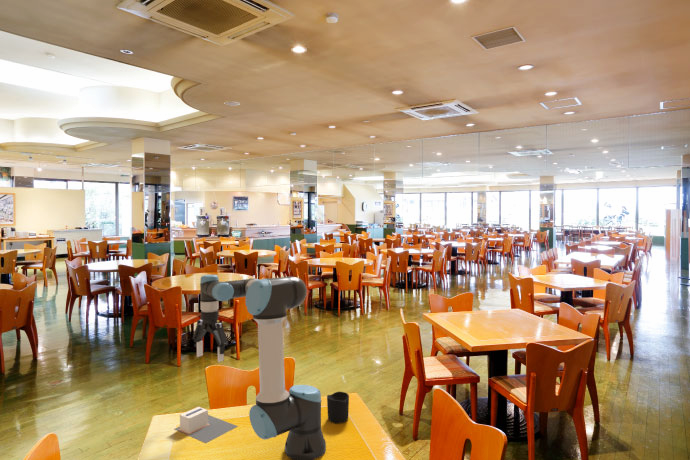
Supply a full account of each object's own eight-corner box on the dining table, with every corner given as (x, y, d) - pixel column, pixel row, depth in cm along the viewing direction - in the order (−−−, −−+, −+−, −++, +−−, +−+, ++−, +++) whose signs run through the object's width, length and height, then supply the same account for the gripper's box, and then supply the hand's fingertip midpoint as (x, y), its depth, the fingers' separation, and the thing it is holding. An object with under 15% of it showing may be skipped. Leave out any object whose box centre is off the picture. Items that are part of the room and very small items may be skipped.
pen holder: (349, 424, 176) (348, 400, 175) (326, 424, 176) (326, 400, 176) (349, 414, 185) (348, 391, 185) (327, 414, 185) (327, 391, 185)
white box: (189, 433, 167) (189, 418, 167) (180, 429, 170) (179, 414, 170) (208, 424, 174) (207, 409, 174) (198, 420, 178) (198, 406, 178)
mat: (238, 427, 173) (238, 425, 173) (205, 444, 160) (205, 442, 160) (206, 415, 184) (206, 413, 184) (174, 430, 171) (174, 428, 171)
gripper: (236, 311, 180) (236, 361, 181) (197, 306, 194) (198, 351, 194) (222, 315, 174) (223, 366, 174) (184, 308, 187) (184, 356, 188)
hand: (210, 358), depth 184 cm, fingers open, 13 cm apart
